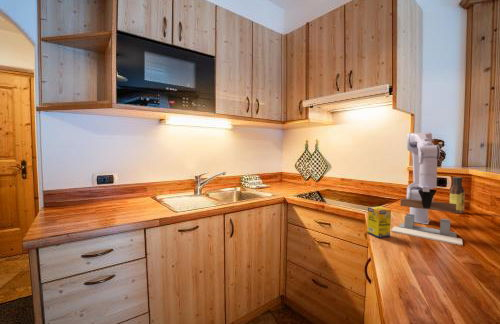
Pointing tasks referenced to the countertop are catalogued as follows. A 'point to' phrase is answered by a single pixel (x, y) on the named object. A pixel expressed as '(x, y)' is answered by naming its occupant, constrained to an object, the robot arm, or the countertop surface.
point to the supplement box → (378, 221)
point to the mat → (427, 235)
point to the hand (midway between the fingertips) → (426, 207)
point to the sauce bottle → (457, 195)
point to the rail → (434, 206)
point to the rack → (443, 228)
